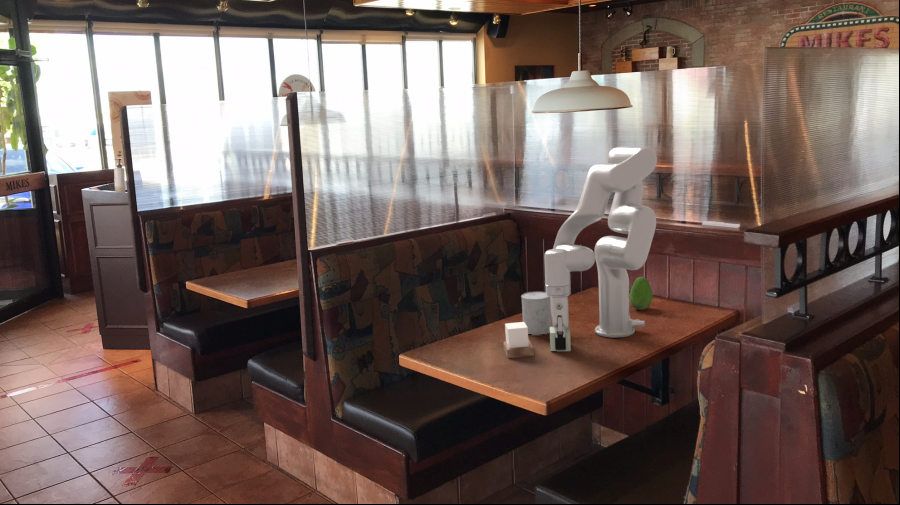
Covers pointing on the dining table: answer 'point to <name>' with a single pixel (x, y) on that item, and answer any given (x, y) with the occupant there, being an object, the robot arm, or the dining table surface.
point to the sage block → (553, 335)
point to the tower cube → (516, 335)
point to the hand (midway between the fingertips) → (560, 345)
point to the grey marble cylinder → (536, 312)
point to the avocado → (641, 294)
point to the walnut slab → (518, 351)
